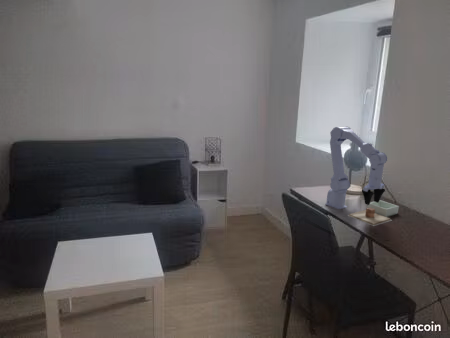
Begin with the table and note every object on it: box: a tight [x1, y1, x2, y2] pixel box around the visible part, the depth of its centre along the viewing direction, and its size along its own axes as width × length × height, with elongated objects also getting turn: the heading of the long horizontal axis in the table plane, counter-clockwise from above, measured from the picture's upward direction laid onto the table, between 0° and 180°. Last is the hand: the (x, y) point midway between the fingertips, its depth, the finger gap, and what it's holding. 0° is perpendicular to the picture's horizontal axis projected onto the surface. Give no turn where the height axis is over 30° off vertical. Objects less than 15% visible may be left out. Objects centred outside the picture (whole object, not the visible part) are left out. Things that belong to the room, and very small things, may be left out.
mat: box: [346, 214, 393, 227], centre depth 176 cm, size 16×16×1 cm
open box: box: [366, 199, 400, 218], centre depth 184 cm, size 11×11×4 cm
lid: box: [348, 207, 391, 226], centre depth 175 cm, size 14×14×5 cm
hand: (371, 203), depth 174 cm, fingers open, 7 cm apart
